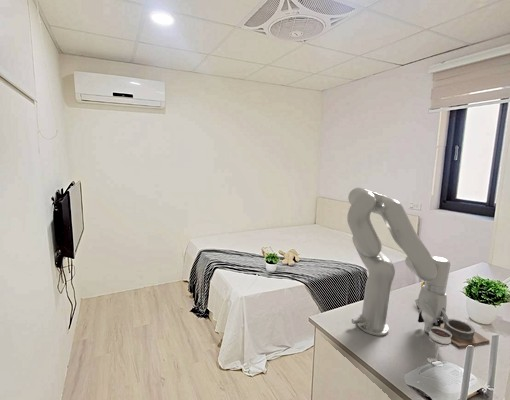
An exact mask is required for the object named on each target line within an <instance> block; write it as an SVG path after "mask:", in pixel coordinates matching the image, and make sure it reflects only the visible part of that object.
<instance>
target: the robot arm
mask: <svg viewBox="0 0 510 400" xmlns="http://www.w3.org/2000/svg"><path fill="white" fill-rule="evenodd" d="M347 200H348V203H349V204H350V207H349V208H348V211H347V217H346V219H347V224H348V227H349V229H350V231H351V234H352V243H353V246H354V247H355V249H356V251H357V255H359V258H360V260H361V262H362V264H363V265H364V266H365V268H366V269H367V271H368V276H367V279H366V283H365V288H364V295H363V296H364V297H363V303H362V312H361V314H359V317H357V318H351V323H352V324H353V325H355V324H357V326H358V328H360V330H362V331H363V332H365V333H367V334H369V335H373V336H378V337H379V336H382V337H383V336H385V335H388V333H389V331H390V328H389V326H388V324H387V323H386V322H387V318H388V317H387V316H388V309H389V303H390V297H391V296H390V294H391V289H392V288H391V287H392V285H393V281H394V278H395V274H396V269H395V268H396V267H395V265H394V263H393V262H392V260H391V259H390V258H389V257H387V256H386V254H385V253H384V252H383V250H382V249H383V248H382V247H383V246H382V242H381V239H380V238H379V236H378V234H377V231H376V230H375V228H374V225H373V223H372V220H371V213H373V214H377V215H379V216H380V217H381V218H382V219H383V221H384V223H385V225H386V227H387V229H388V232H389V234H390V235H391V237H392V240H394V242H395V244H396V245H397V246H398V247H399V249H400V250H402V251H403V252H404V254H405V255H406V256H405V263H404V264H405V265H406V267H407V269H409V270H410V271H411V272H412V273H413V274H414V275H415V276H416V277H417V278H419V279H420V280H422V281H423V282H425V285H423V286H422V288H421V287H420V291H419V293H418V296H417V299H415V300H414V302H415V305H416V307H417V312H418V318H417V322H418V323H419V324H420V323H424V320H423V318H422V315H421V312H422V310H423V311H424V312H426V313H427V314H429V315H430V316H432V317H434V321H435V323H433V326H438V327H440V325H441V324H443V323H446V322H449V319H450V318H449V317H448V315H447V313H446V312H447V305H448V304H447V303H448V302H447V301H448V300H447V293H446V290H447V286H448V280H449V274H450V271H451V270H450V269H451V261H450V260H449V259H447V258H445V257H442V256H435V255H434V256H432V255H431V254H430V251H429V250H428V248H427V246H426V245H425V243H423V240H422V239H421V238H420V236H419V235H418V233H417V232H416V230H415V229H414V227H413V225H412V222H411V220H410V219H409V216H408V215H407V212H406V211H405V209H404V207H403V205H402V203H401V202H400V201H398V200H397V199H394V198H392V197H390V196H387V195H384V194H380V193H377V192H374V191H372V190H369V189H365V188H363V187H355V188H353V189H352V190H351V191H350V192H349V193H348V198H347ZM437 318H438V319H439V320H438V319H437Z"/></svg>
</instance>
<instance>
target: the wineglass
mask: <svg viewBox="0 0 510 400" xmlns="http://www.w3.org/2000/svg"><path fill="white" fill-rule="evenodd" d="M430 330H431V331H430V332H429V333H428V338H429V340H430V341H431V342H432V344H434V345H435V346H436V350H435V357H434V356H429V357H427V358H426V359H427V362H428V363H429V362H430V364H431V363H432V362H436V361H441V359H439V358H438V355H439V350H440V348H446V347H448V346H450V344H452V343H451V337H452V334H451V333H450V332H449V331H448V330H446V329H444V328H442V327H438V326H432V327H430Z"/></svg>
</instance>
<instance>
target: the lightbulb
mask: <svg viewBox="0 0 510 400" xmlns="http://www.w3.org/2000/svg"><path fill="white" fill-rule="evenodd" d="M421 315H422V318H423V320H424V322H423V323H424V327H423V331H424V332H425V333H427V334H429V332H430V331H431V330H430V327H432V326H433V323H435V321H434V317H432V316H430V315H429V314H427V313H426V312H424V311H423V310H422V312H421ZM437 319H438V318H437ZM438 321H439V319H438Z"/></svg>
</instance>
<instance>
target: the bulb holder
mask: <svg viewBox="0 0 510 400" xmlns="http://www.w3.org/2000/svg"><path fill="white" fill-rule="evenodd" d="M448 319H449V322H446V323H443V324H441V325H440V327H442V328H444V329H446V330H448V331H449V332H450V333H451V334H452V337H451V343H450V344H452V345H454V346H455V347H457V348H458V349H461V348H467V347H466V346H468V345H473V346H472V347H474V346H480V345H485V344H488V343H490V342H491V341H490V340H489V339H488V338H486V337H485V336H483V335H482V334H480V333H478V332H477V331H475V330H476V329H475V328H474V326H472V325H470V324H469V323H468V322H465V321H462V320H460V319H455V318H448ZM468 347H469V346H468Z"/></svg>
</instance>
